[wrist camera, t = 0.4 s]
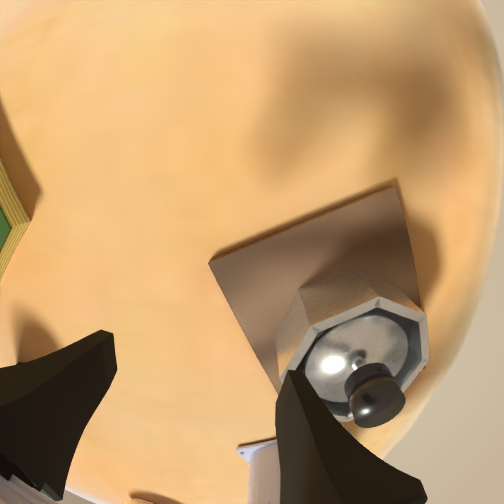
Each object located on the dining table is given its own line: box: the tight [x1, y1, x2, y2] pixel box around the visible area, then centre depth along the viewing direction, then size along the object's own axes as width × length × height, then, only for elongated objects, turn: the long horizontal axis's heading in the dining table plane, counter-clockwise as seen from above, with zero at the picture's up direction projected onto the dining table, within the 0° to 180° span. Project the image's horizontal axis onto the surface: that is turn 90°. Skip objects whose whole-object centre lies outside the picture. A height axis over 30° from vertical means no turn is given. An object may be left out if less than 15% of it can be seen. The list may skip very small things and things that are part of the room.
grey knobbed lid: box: [304, 313, 408, 428], centre depth 14 cm, size 7×7×5 cm
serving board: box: [208, 186, 425, 395], centre depth 20 cm, size 18×14×1 cm
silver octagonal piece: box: [275, 267, 429, 422], centre depth 18 cm, size 12×10×5 cm
